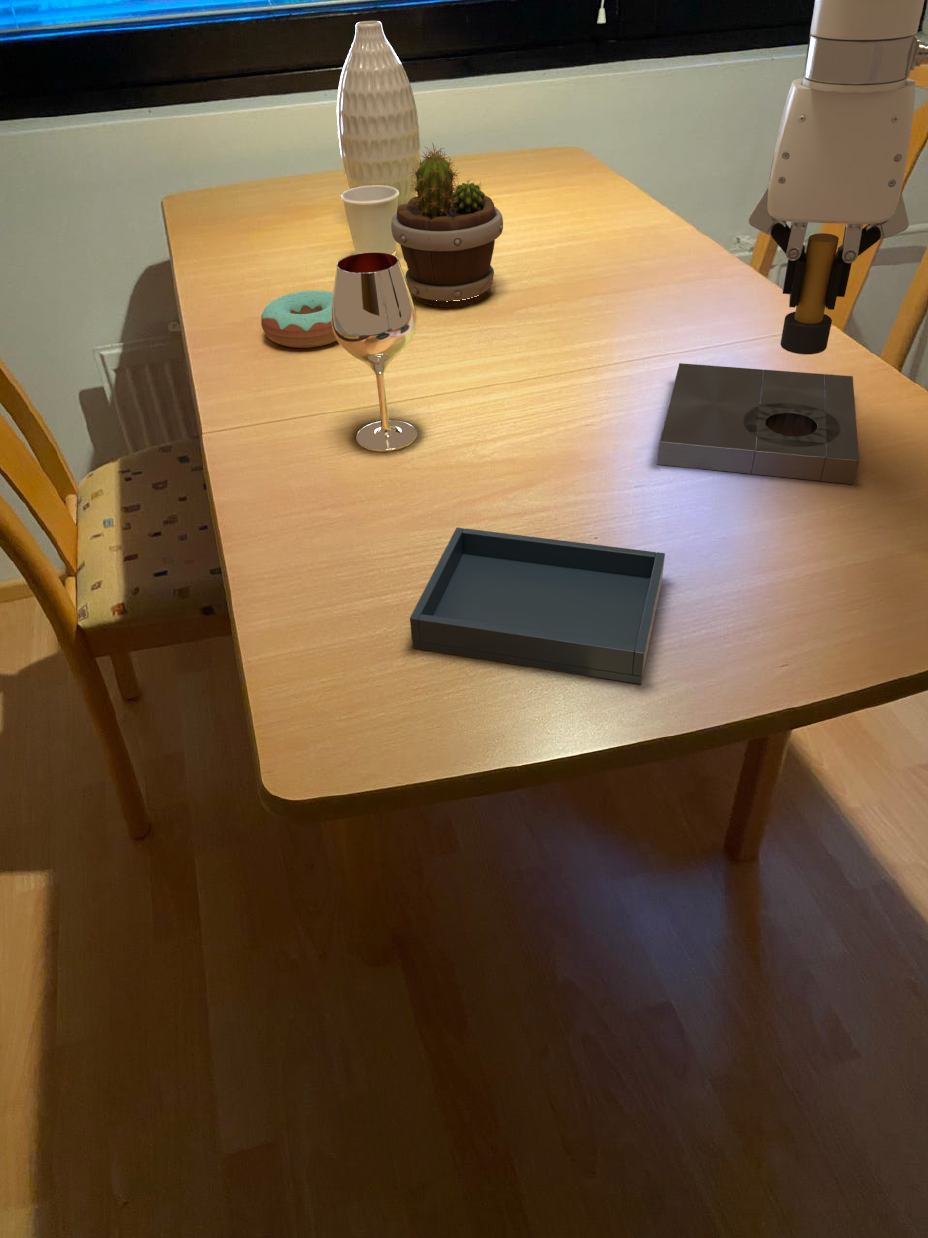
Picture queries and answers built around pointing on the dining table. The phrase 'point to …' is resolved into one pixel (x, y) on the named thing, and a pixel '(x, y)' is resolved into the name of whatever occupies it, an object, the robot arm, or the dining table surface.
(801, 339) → the plug
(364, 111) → the vase
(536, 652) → the basin tray
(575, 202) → the dining table surface
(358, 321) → the wineglass
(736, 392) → the drain plate
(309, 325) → the donut
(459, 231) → the flowerpot
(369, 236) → the dixie cup
